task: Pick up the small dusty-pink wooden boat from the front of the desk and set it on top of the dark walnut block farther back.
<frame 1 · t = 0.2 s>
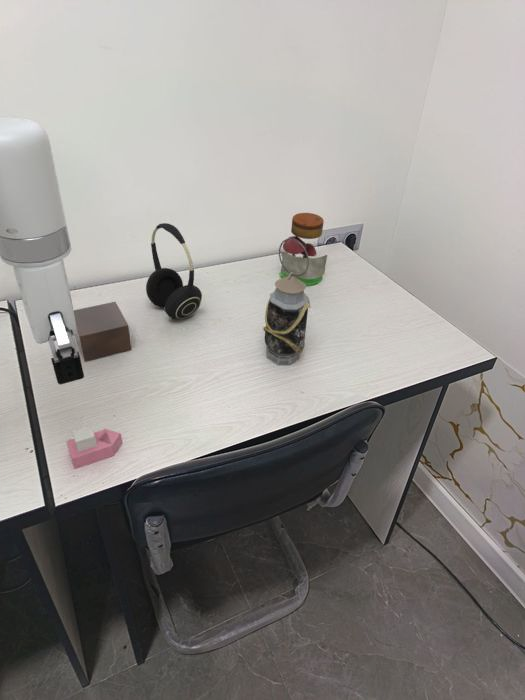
hand: (63, 358, 66), 18 cm above the table, tool pointing down, fingers open, 9 cm apart
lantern: (282, 355, 99), on the table
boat: (94, 452, 77), on the table
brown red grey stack: (299, 276, 124), on the table
headphones: (175, 312, 109), on the table
block: (102, 342, 98), on the table
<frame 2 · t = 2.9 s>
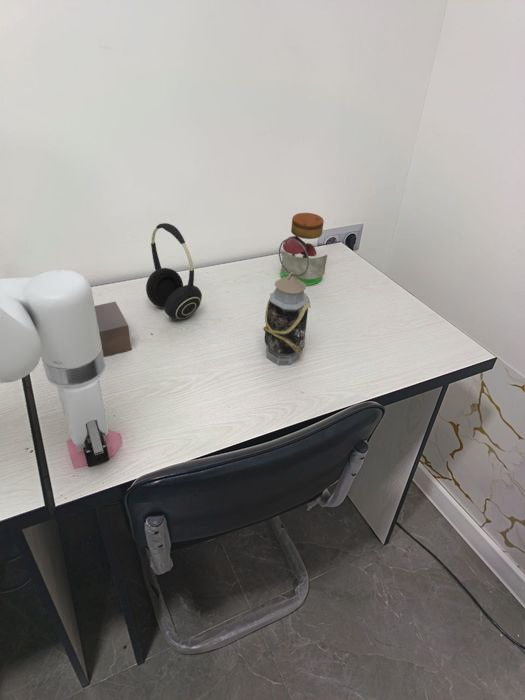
hand: (94, 451, 77), 0 cm above the table, tool pointing down, fingers closed on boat, 3 cm apart
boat: (94, 452, 77), on the table, touching gripper
everything else where it was.
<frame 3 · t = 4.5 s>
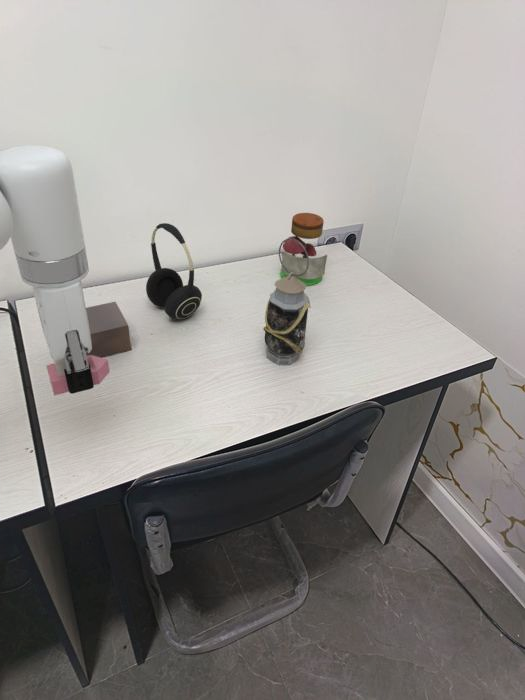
hand: (77, 378, 68), 15 cm above the table, tool pointing down, fingers closed on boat, 3 cm apart
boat: (78, 380, 69), point 14 cm above the table, touching gripper
everything else where it was.
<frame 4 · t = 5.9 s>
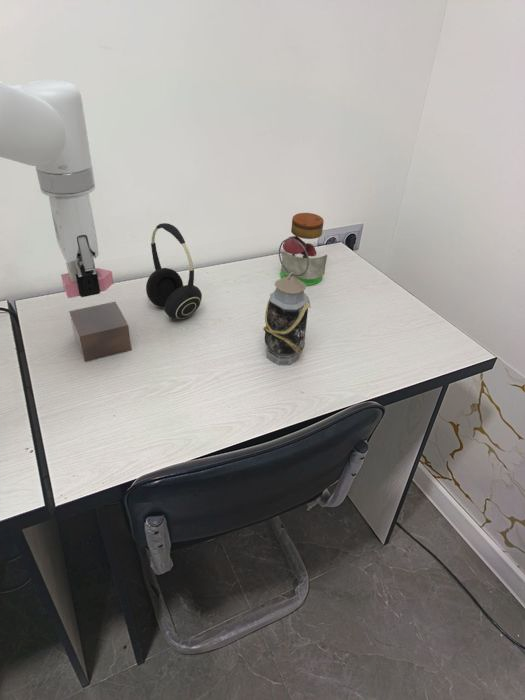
hand: (87, 286, 82), 17 cm above the table, tool pointing down, fingers closed on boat, 3 cm apart
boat: (87, 288, 82), point 17 cm above the table, touching gripper
everything else where it was.
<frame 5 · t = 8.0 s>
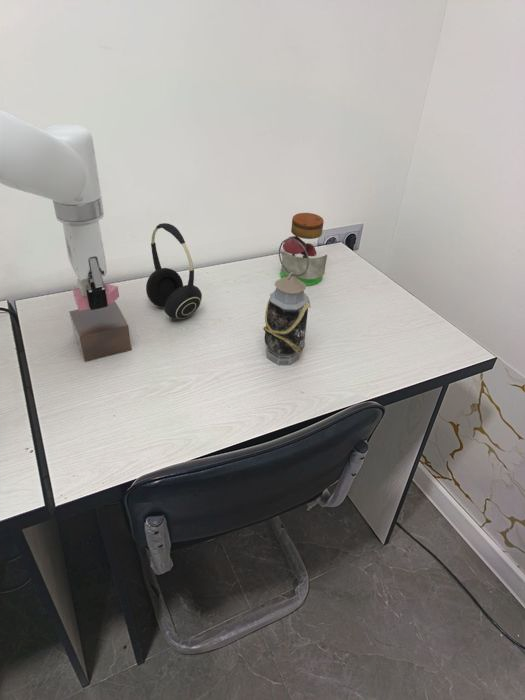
hand: (95, 300, 92), 10 cm above the table, tool pointing down, fingers closed on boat, 3 cm apart
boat: (96, 301, 92), point 10 cm above the table, touching gripper
everything else where it was.
when the fingers open (6 cm above the table, at t = 9.3 s): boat stays where it is, resting on block.
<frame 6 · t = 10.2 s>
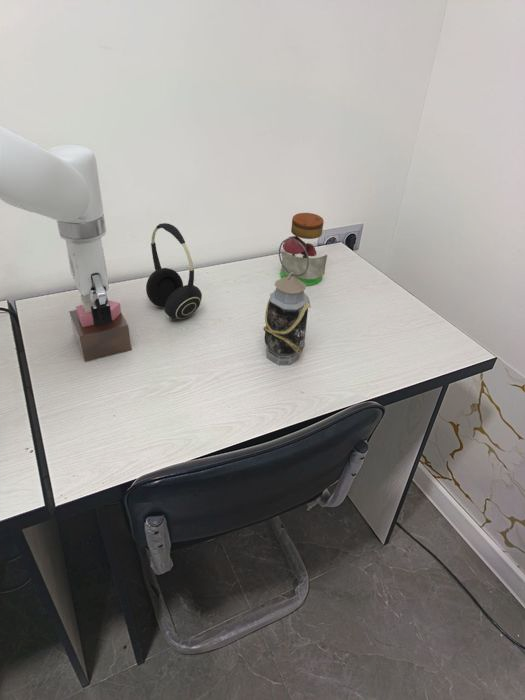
hand: (96, 309, 93), 8 cm above the table, tool pointing down, fingers open, 9 cm apart
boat: (98, 317, 95), point 6 cm above the table, touching block
everything else where it was.
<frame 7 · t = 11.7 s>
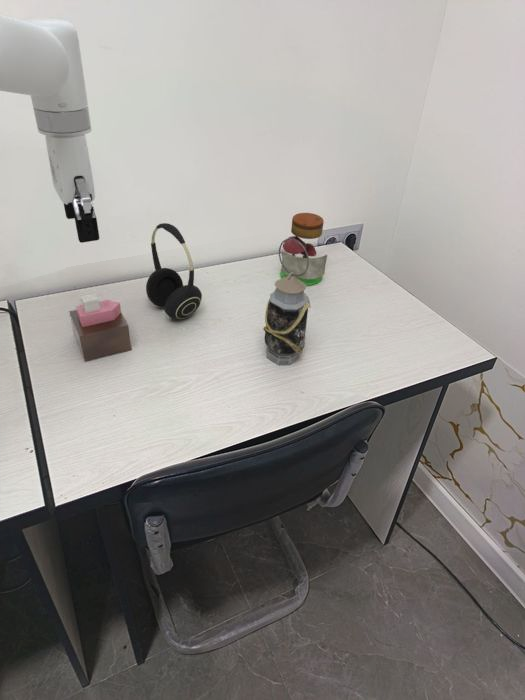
hand: (82, 228, 83), 24 cm above the table, tool pointing down, fingers open, 9 cm apart
nothing on the table moved.
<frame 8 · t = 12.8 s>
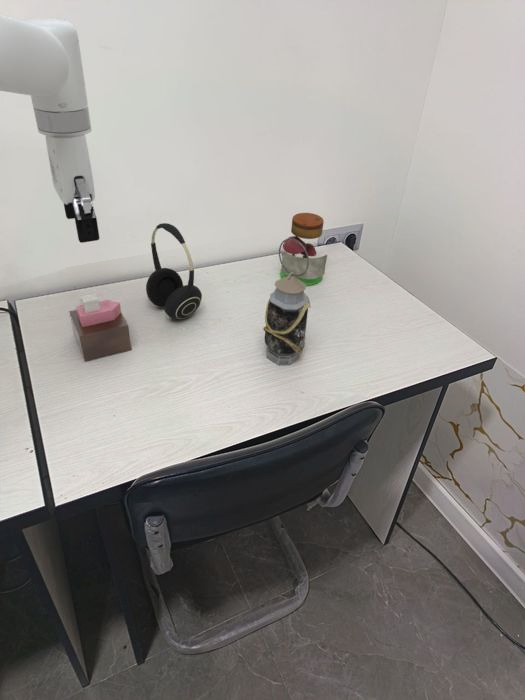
hand: (82, 228, 83), 24 cm above the table, tool pointing down, fingers open, 9 cm apart
nothing on the table moved.
at the end: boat 0.1 cm off-centre on the block, point 6.0 cm above the block's base; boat tilted 0°; the gripper is holding nothing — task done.
